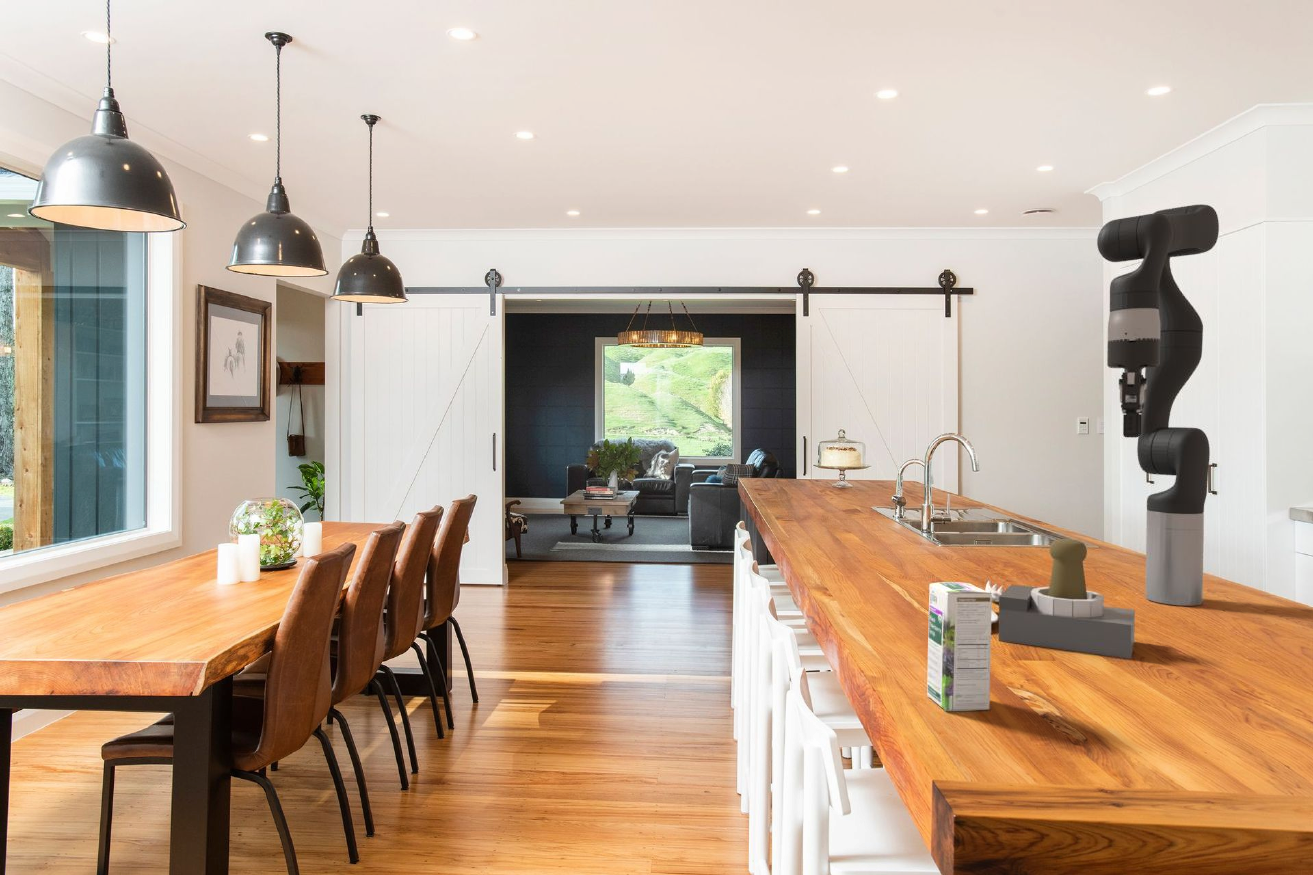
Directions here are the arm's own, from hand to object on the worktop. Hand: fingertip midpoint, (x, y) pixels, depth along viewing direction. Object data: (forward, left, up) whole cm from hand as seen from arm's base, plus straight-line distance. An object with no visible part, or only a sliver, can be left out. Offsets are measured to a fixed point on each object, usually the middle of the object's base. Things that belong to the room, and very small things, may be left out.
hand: (1132, 436), depth 134 cm
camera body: (+14, -8, -32) cm, 36 cm away
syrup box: (+52, -16, -32) cm, 63 cm away
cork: (+14, -8, -27) cm, 31 cm away
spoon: (+1, -22, -33) cm, 39 cm away
